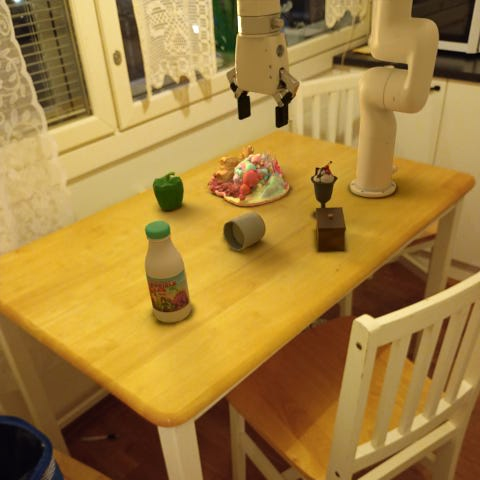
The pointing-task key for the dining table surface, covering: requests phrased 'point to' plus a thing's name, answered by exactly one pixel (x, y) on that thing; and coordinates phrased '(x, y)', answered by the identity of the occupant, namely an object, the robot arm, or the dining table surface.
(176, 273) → the milk bottle
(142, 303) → the dining table surface
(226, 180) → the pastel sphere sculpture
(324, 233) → the tea box
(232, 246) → the ceramic mug
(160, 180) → the bell pepper
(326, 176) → the sundae
